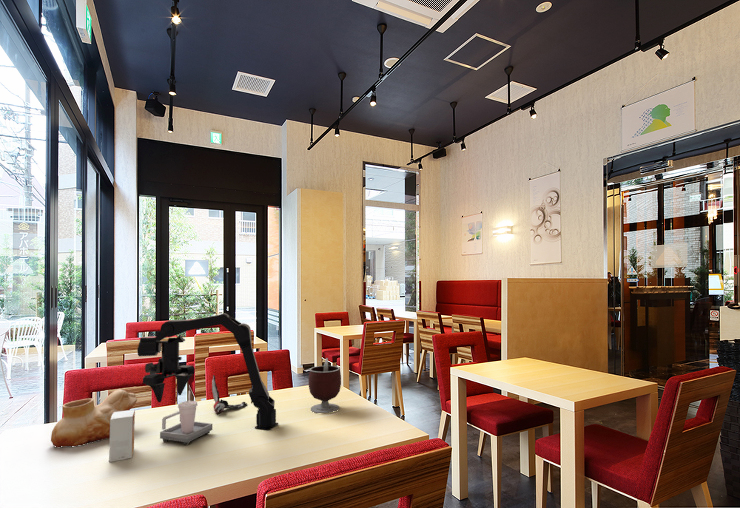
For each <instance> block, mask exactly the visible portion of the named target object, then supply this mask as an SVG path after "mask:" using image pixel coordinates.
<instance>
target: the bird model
mask: <svg viewBox="0 0 740 508" xmlns="http://www.w3.org/2000/svg"><path fill="white" fill-rule="evenodd" d="M211 392H212V396H213V401H214V402H215V403H214V404H213V405H212V406H213V407H212V408H213V410H214V412H215V415H216V416H219V415H220V413H221V412H224V410H225V409H242V408H246V407H248V403H247V402H245V401H243V402H241V403H239V404H229V403H228V401H227V400H224V399H221V398H220V392H219V390H218V386H217V383H216V376H215V375H214V374H213V375H212V380H211Z"/></svg>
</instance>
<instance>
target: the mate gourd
mask: <svg viewBox="0 0 740 508" xmlns="http://www.w3.org/2000/svg"><path fill="white" fill-rule="evenodd" d="M340 368H341V367H339V366H338V365H337V366H336V365H329V358H328V357H326V358H325V361H324V363H323V365H317V366H313V367H311V368H309V373H308V390H309V393H310V394H311V396H312V397H313V399H316V400H319V401H321V403H318V404H314V405H313V406H311V407H310V411H312V413H313V412H314V413H313V414H317V413H329V412H333V411H337V410H338V409H339V410H340V405H339V404H336V403H330V402H329V401H330V400H332V399H335V398H336V397H337V396H338V395H339V393H340V391H341V387H342V376H341V375H342V374H341V369H340ZM339 410H338V411H339ZM338 411H337V412H338Z"/></svg>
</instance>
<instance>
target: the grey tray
mask: <svg viewBox="0 0 740 508" xmlns="http://www.w3.org/2000/svg"><path fill="white" fill-rule="evenodd" d="M178 415H180V413H179V410H178V411H175V412H173V413H171V414H168V415H166V416H163V417H162V419H161V420H162V421H161V431H160V432H159V439H162V442H163V443H167V442H168V441H169V440H170V441H174V442H175V441H176V442H181V443H183V445H184V446H188V445H189V444H190V442H191V441H193V440H196V439H198V438H199V437H202V436H203V435H209V434H210V433H211V432H212V431H213V423H210V422H201V421H195V420H194V428H193V431H192V432H189V433H182V430H181V421H180V420H179V422H180V423H177V424H175V425H173V426H170V427H168V428H167V425H166V423H167V420H168V419H171V418H173V417H175V416H178Z"/></svg>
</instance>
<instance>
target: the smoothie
mask: <svg viewBox="0 0 740 508" xmlns="http://www.w3.org/2000/svg"><path fill="white" fill-rule="evenodd" d="M187 395H188V396H187V398H188V400H187V401H186V400H185V401H182V402H180V403H178V405H177V408H178V411H179V413H180V414H179V422H180V421H181V422H180V423H181V430H182V433H189V432H192V431H193V428H194V421H195V419H196V412H197V406H198V401H197V400H191V390H188V394H187Z"/></svg>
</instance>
